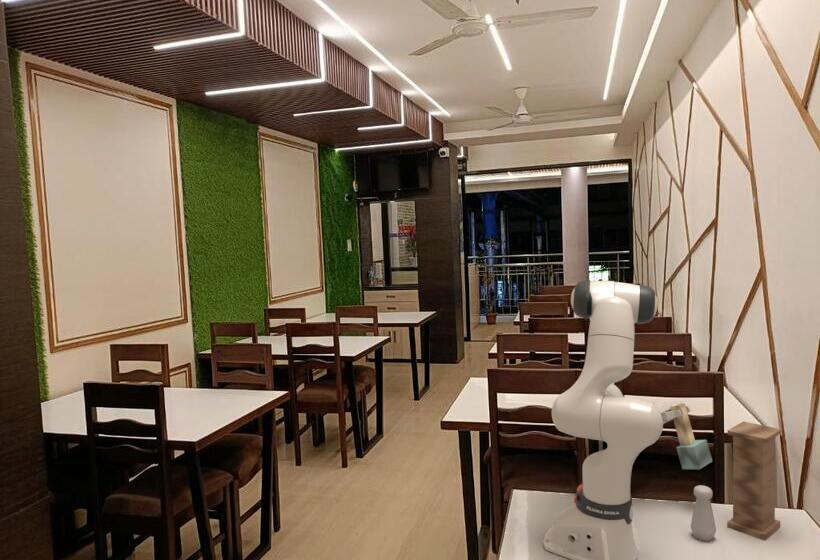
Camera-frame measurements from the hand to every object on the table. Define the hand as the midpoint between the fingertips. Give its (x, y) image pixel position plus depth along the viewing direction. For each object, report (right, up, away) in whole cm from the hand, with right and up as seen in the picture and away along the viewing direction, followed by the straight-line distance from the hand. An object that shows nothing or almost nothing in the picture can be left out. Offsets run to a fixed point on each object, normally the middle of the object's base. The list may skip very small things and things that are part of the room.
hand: (684, 410), depth 164 cm
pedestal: (+12, -28, -12) cm, 33 cm away
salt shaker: (-3, -29, -16) cm, 33 cm away
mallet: (-1, -7, +2) cm, 7 cm away
